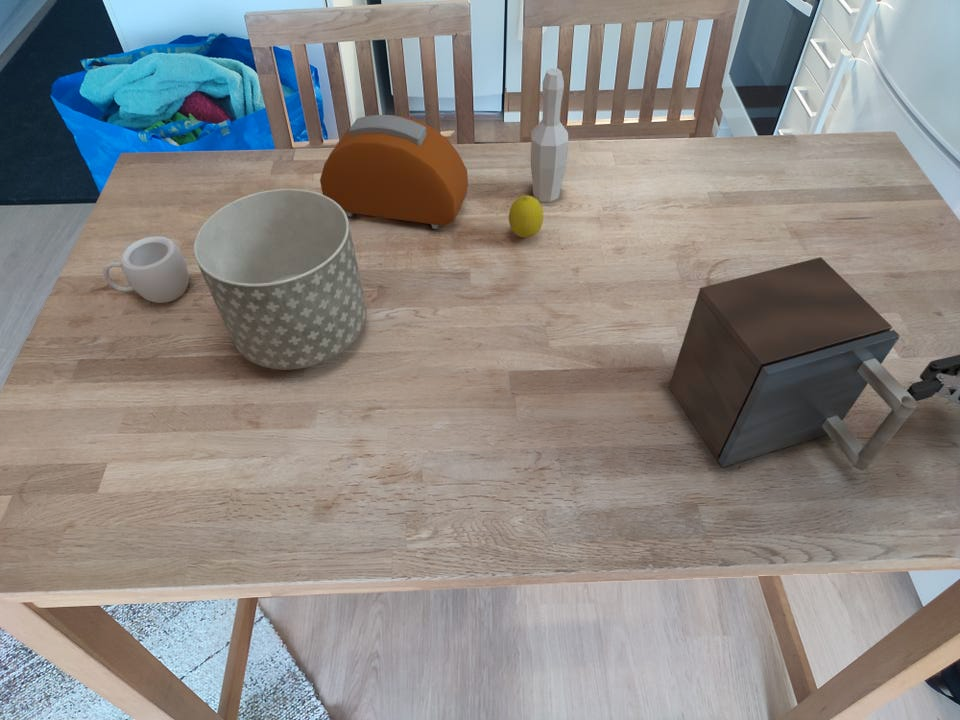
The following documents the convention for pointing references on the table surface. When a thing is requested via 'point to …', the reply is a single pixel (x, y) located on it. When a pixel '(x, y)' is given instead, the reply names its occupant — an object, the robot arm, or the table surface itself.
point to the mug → (152, 269)
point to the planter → (283, 277)
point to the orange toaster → (396, 171)
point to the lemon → (526, 216)
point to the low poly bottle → (549, 141)
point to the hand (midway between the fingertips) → (936, 425)
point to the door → (820, 402)
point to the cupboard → (761, 337)
